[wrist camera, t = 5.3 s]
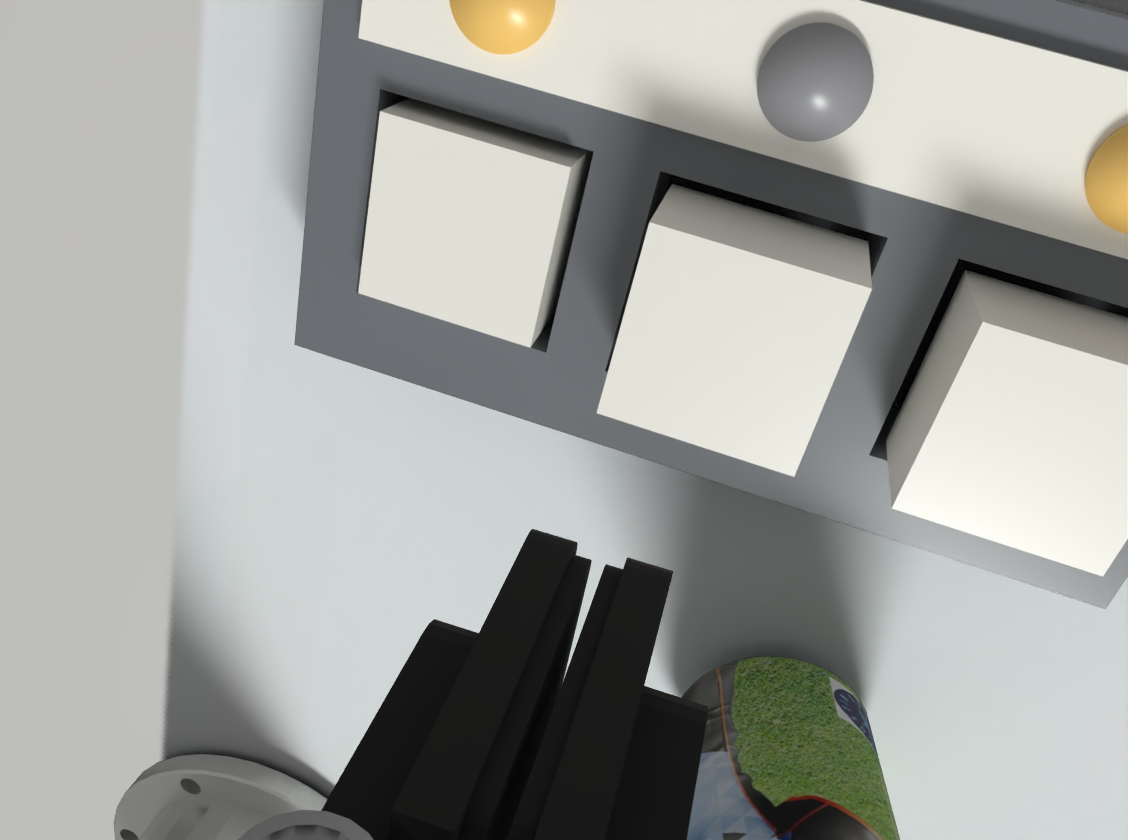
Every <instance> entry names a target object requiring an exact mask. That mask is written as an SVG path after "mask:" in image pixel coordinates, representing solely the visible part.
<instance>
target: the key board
mask: <svg viewBox="0 0 1128 840" xmlns="http://www.w3.org/2000/svg"><path fill="white" fill-rule="evenodd" d="M408 98H412V99H416V100H419V101H422V102H426V103H429V104H433V105H436V106H440V107H443V108H446V109H450V110H453V111H457V112H460V113H463V114H467V115H470V116H474V117H477V118H481V119H484V120H487V121H491V122H494V123H498V124H501V125H504V126H508V127H511V128H515V129H518V130H521V131H525V132H528V133H532V134H535V135H539V136H542V137H545V138H549V139H552V140H556V141H559V142H562V143H566V144H569V145H573V146H576V147H580V148H583V149H586V150H590V151H593V152H594V153H593V157H592V161H591V166H590V170H589V174H588V178H587V182H586V187H585V191H584V195H583V199H582V204H581V208H580V212H579V216H578V221H577V225H576V229H575V233H574V237H573V242H572V246H571V250H570V254H569V259H568V263H567V267H566V271H565V276H564V280H563V284H562V288H561V292H560V297H559V301H558V305H557V309H556V312H555V313H554V314H553V316H552V317H551V319H550V320H549V322H548V323H547V325H546V326H545V327H544V329H543V330H542V332H541V333H540V335H539V336H538V337H537V339H536V340H535V342H534V343H533V345H532V346H531V347H530V348H529V347H526V346H523V345H520V344H517V343H513V342H510V341H507V340H504V339H501V338H498V337H495V336H491V335H488V334H485V333H482V332H479V331H476V330H473V329H469V328H466V327H463V326H460V325H457V324H454V323H451V322H447V321H444V320H441V319H438V318H435V317H432V316H428V315H425V314H422V313H419V312H416V311H413V310H410V309H406V308H403V307H400V306H397V305H394V304H391V303H388V302H384V301H381V300H378V299H375V298H372V297H369V296H366V295H362V294H359V293H358V290H359V282H360V274H361V265H362V257H363V249H364V240H365V232H366V224H367V215H368V207H369V199H370V190H371V182H372V173H373V165H374V157H375V148H376V140H377V132H378V123H379V115H380V111H381V110H384V109H386V108H388V107H390V106H393V105H395V104H397V103H399V102H401V101H404V100H406V99H408ZM671 174H672V175H675V176H679V177H682V178H685V179H689V180H692V181H696V182H699V183H702V184H706V185H709V186H713V187H716V188H719V189H723V190H726V191H730V192H733V193H737V194H740V195H743V196H747V197H750V198H754V199H757V200H760V201H764V202H767V203H771V204H774V205H778V206H781V207H784V208H788V209H791V210H795V211H798V212H801V213H805V214H808V215H812V216H815V217H819V218H822V219H825V220H829V221H832V222H836V223H839V224H842V225H846V226H849V227H853V228H856V229H859V230H863V231H866V232H870V233H869V236H868V238H867V241H868V244H869V256H870V268H871V280H872V291H871V293H870V295H869V298H868V300H867V303H866V305H865V307H864V310H863V312H862V315H861V317H860V320H859V322H858V324H857V327H856V329H855V332H854V334H853V336H852V339H851V341H850V344H849V346H848V348H847V351H846V353H845V356H844V358H843V360H842V363H841V365H840V368H839V370H838V372H837V375H836V377H835V380H834V382H833V385H832V387H831V389H830V392H829V394H828V397H827V399H826V401H825V404H824V406H823V409H822V411H821V413H820V416H819V418H818V421H817V423H816V425H815V428H814V430H813V433H812V435H811V438H810V440H809V442H808V445H807V447H806V450H805V452H804V454H803V457H802V459H801V462H800V464H799V466H798V469H797V471H796V474H795V476H794V477H793V476H790V475H787V474H783V473H780V472H777V471H774V470H771V469H768V468H765V467H762V466H759V465H756V464H752V463H749V462H746V461H743V460H740V459H737V458H734V457H731V456H728V455H725V454H721V453H718V452H715V451H712V450H709V449H706V448H703V447H700V446H697V445H694V444H691V443H687V442H684V441H681V440H678V439H675V438H672V437H669V436H666V435H663V434H660V433H656V432H653V431H650V430H647V429H644V428H641V427H638V426H635V425H632V424H629V423H625V422H622V421H619V420H616V419H613V418H610V417H607V416H604V415H601V414H598V413H597V410H598V406H599V402H600V399H601V395H602V392H603V388H604V384H605V381H606V377H607V374H608V370H609V366H610V363H611V359H612V355H613V352H614V348H615V345H616V341H617V337H618V334H619V330H620V327H621V323H622V319H623V316H624V312H625V308H626V305H627V301H628V298H629V294H630V290H631V287H632V283H633V279H634V276H635V272H636V269H637V265H638V261H639V258H640V254H641V251H642V247H643V243H644V240H645V236H646V232H647V229H648V225H649V222H650V220H651V219H652V217H653V215H654V214H655V212H656V210H657V209H658V207H659V205H660V204H661V202H662V200H663V198H664V196H665V192H666V189H667V185H668V182H669V178H670V175H671ZM959 259H962V260H965V261H969V262H972V263H976V264H979V265H982V266H986V267H989V268H993V269H996V270H999V271H1003V272H1006V273H1010V274H1013V275H1017V276H1020V277H1023V278H1027V279H1030V280H1034V281H1037V282H1040V283H1044V284H1047V285H1051V286H1054V287H1057V288H1061V289H1064V290H1068V291H1071V292H1075V293H1078V294H1081V295H1085V296H1088V297H1092V298H1095V299H1098V300H1102V301H1105V302H1109V303H1112V304H1116V305H1119V306H1122V307H1126V308H1128V15H1127V14H1124V13H1120V12H1116V11H1112V10H1108V9H1104V8H1101V7H1097V6H1093V5H1089V4H1085V3H1081V2H1078V1H1074V0H324V6H323V18H322V29H321V41H320V53H319V65H318V76H317V88H316V100H315V111H314V123H313V135H312V146H311V158H310V170H309V181H308V193H307V205H306V217H305V228H304V240H303V252H302V263H301V275H300V287H299V298H298V310H297V322H296V333H295V345H297V346H300V347H303V348H306V349H309V350H312V351H315V352H318V353H322V354H325V355H328V356H331V357H334V358H337V359H340V360H343V361H346V362H349V363H352V364H355V365H358V366H361V367H364V368H368V369H371V370H374V371H377V372H380V373H383V374H386V375H389V376H392V377H395V378H398V379H401V380H404V381H407V382H410V383H414V384H417V385H420V386H423V387H426V388H429V389H432V390H435V391H438V392H441V393H444V394H447V395H450V396H453V397H456V398H460V399H463V400H466V401H469V402H472V403H475V404H478V405H481V406H484V407H487V408H490V409H493V410H496V411H499V412H502V413H506V414H509V415H512V416H515V417H518V418H521V419H524V420H527V421H530V422H533V423H536V424H539V425H542V426H545V427H548V428H552V429H555V430H558V431H561V432H564V433H567V434H570V435H573V436H576V437H579V438H582V439H585V440H588V441H591V442H594V443H598V444H601V445H604V446H607V447H610V448H613V449H616V450H619V451H622V452H625V453H628V454H631V455H634V456H637V457H640V458H644V459H647V460H650V461H653V462H656V463H659V464H662V465H665V466H668V467H671V468H674V469H677V470H680V471H683V472H686V473H690V474H693V475H696V476H699V477H702V478H705V479H708V480H711V481H714V482H717V483H720V484H723V485H726V486H729V487H732V488H736V489H739V490H742V491H745V492H748V493H751V494H754V495H757V496H760V497H763V498H766V499H769V500H772V501H775V502H778V503H781V504H785V505H788V506H791V507H794V508H797V509H800V510H803V511H806V512H809V513H812V514H815V515H818V516H821V517H824V518H827V519H831V520H834V521H837V522H840V523H843V524H846V525H849V526H852V527H855V528H858V529H861V530H864V531H867V532H870V533H873V534H877V535H880V536H883V537H886V538H889V539H892V540H895V541H898V542H901V543H904V544H907V545H910V546H913V547H916V548H919V549H923V550H926V551H929V552H932V553H935V554H938V555H941V556H944V557H947V558H950V559H953V560H956V561H959V562H962V563H965V564H969V565H972V566H975V567H978V568H981V569H984V570H987V571H990V572H993V573H996V574H999V575H1002V576H1005V577H1008V578H1011V579H1015V580H1018V581H1021V582H1024V583H1027V584H1030V585H1033V586H1036V587H1039V588H1042V589H1045V590H1048V591H1051V592H1054V593H1057V594H1061V595H1064V596H1067V597H1070V598H1073V599H1076V600H1079V601H1082V602H1085V603H1088V604H1091V605H1094V606H1097V607H1100V608H1103V609H1106V608H1107V606H1108V605H1109V604H1110V602H1111V601H1112V599H1113V598H1114V596H1115V595H1116V593H1117V592H1118V590H1119V589H1120V587H1121V586H1122V584H1123V583H1124V581H1125V580H1126V578H1127V577H1128V539H1127V541H1126V542H1125V544H1124V545H1123V547H1122V548H1121V550H1120V551H1119V553H1118V554H1117V556H1116V557H1115V559H1114V560H1113V562H1112V564H1111V565H1110V567H1109V568H1108V570H1107V571H1106V573H1105V574H1104V576H1099V575H1096V574H1093V573H1090V572H1087V571H1084V570H1081V569H1078V568H1075V567H1072V566H1068V565H1065V564H1062V563H1059V562H1056V561H1053V560H1050V559H1047V558H1044V557H1041V556H1038V555H1034V554H1031V553H1028V552H1025V551H1022V550H1019V549H1016V548H1013V547H1010V546H1007V545H1003V544H1000V543H997V542H994V541H991V540H988V539H985V538H982V537H979V536H976V535H972V534H969V533H966V532H963V531H960V530H957V529H954V528H951V527H948V526H945V525H941V524H938V523H935V522H932V521H929V520H926V519H923V518H920V517H917V516H914V515H910V514H907V513H904V512H901V511H898V510H895V509H892V507H891V495H890V484H889V472H888V460H887V449H886V439H887V437H888V435H889V433H890V430H891V428H892V426H893V424H894V422H895V420H896V417H897V415H898V413H899V411H900V410H899V409H896V408H893V407H891V406H892V404H893V402H894V399H895V397H896V395H897V393H898V391H899V389H900V386H901V384H902V382H903V380H904V378H905V375H906V373H907V371H908V369H909V367H910V364H911V362H912V360H913V358H914V356H915V354H916V351H917V349H918V347H919V345H920V343H921V340H922V338H923V336H924V334H925V332H926V329H927V327H928V325H929V323H930V321H931V319H932V316H933V314H934V312H935V310H936V308H937V305H938V303H939V301H940V299H941V297H942V295H943V292H944V290H945V288H946V286H947V284H948V281H949V279H950V277H951V275H952V273H953V270H954V268H955V266H956V264H957V262H958V260H959Z"/></svg>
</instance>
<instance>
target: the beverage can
mask: <svg viewBox="0 0 1128 840" xmlns="http://www.w3.org/2000/svg"><path fill="white" fill-rule="evenodd" d="M682 698H683V699H686V700H690V701H693V702H696V703H699V704H702V705H705V706H708V715H707V722H706V729H705V734H704V740H703V746H702V752H701V758H700V764H699V770H698V776H697V782H696V788H695V794H694V800H693V805H692V811H691V817H690V823H689V829H688V835H687V840H900V838H899V834H898V830H897V826H896V822H895V819H894V815H893V811H892V807H891V803H890V800H889V796H888V792H887V788H886V784H885V781H884V777H883V773H882V769H881V765H880V762H879V758H878V754H877V750H876V747H875V743H874V739H873V735H872V731H871V728H870V724H869V720H868V716H867V712H866V710H865V708H864V706H863V704H862V702H861V700H860V699H859V697H858V696H857V695H856V694H855V692H854V691H853V690H852V689H851V687H850V686H848V685H847V684H846V683H845V682H844V681H842V680H841V679H840V678H839V677H838V676H836V675H834V674H832V673H831V672H829V671H827V670H826V669H824V668H822V667H819V666H816V665H814V664H811V663H809V662H805V661H801V660H796V659H792V658H783V657H754V658H749V659H744V660H738V661H735V662H732V663H729V664H726V665H723V666H721V667H719V668H717V669H715V670H713V671H711V672H709V673H707V674H706V675H704V676H703V677H702V678H700V679H699V680H698V681H696V682H695V683H694V684H693V685H692V686H691V687H690V688H689V689H688V690H687V691H686V692H685V693H684V695H683V696H682Z"/></svg>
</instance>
